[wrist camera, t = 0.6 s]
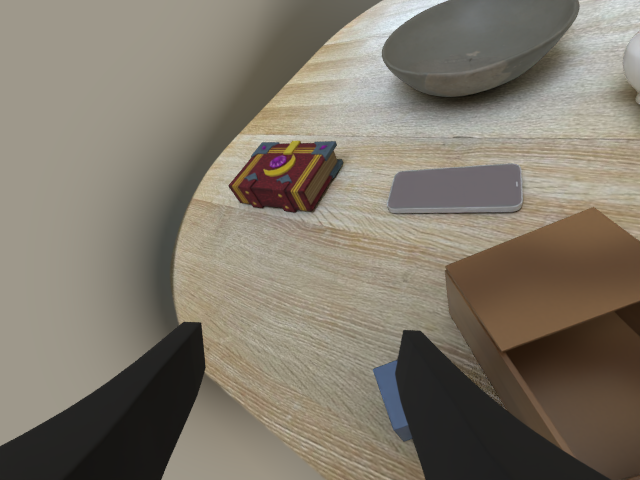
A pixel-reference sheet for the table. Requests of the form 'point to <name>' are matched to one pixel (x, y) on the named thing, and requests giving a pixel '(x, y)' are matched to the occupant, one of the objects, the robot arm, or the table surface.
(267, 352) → the table surface
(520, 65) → the bowl
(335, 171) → the decorative book
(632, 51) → the teapot
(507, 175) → the smartphone
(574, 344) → the carton
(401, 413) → the block
